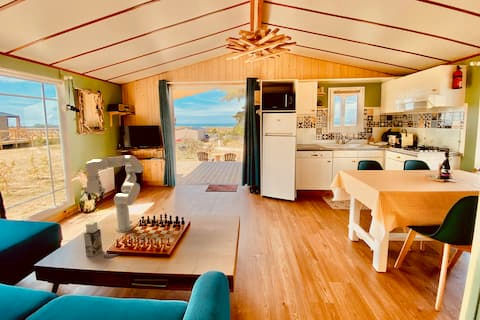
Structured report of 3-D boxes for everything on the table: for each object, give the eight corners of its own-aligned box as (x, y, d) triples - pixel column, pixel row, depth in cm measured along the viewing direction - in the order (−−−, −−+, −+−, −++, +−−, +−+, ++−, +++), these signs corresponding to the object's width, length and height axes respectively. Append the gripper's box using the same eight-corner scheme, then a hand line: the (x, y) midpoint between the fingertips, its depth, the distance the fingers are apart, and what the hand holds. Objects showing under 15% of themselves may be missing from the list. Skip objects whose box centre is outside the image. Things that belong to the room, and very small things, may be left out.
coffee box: (94, 256, 188) (91, 234, 185) (85, 256, 189) (83, 233, 187) (103, 250, 196) (100, 229, 194) (95, 250, 198) (92, 228, 195)
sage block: (91, 229, 193) (90, 221, 192) (98, 229, 193) (97, 221, 192) (86, 232, 188) (85, 224, 188) (93, 232, 188) (92, 224, 187)
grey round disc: (109, 251, 194) (109, 251, 194) (121, 252, 192) (120, 251, 192) (101, 258, 185) (101, 257, 185) (113, 258, 184) (113, 257, 183)
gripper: (106, 176, 207) (109, 198, 209) (86, 176, 209) (88, 198, 212) (100, 178, 199) (103, 201, 202) (79, 179, 202) (81, 201, 204)
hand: (95, 200), depth 207 cm, fingers open, 9 cm apart
